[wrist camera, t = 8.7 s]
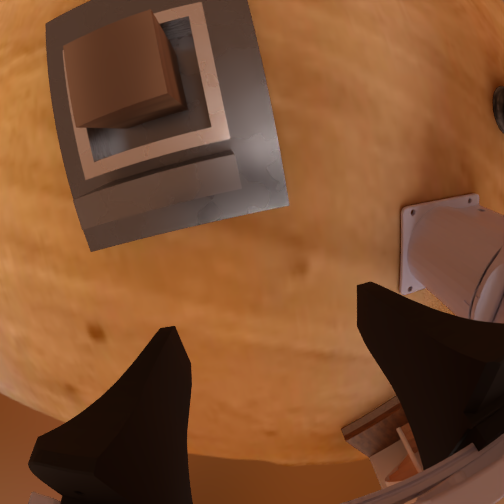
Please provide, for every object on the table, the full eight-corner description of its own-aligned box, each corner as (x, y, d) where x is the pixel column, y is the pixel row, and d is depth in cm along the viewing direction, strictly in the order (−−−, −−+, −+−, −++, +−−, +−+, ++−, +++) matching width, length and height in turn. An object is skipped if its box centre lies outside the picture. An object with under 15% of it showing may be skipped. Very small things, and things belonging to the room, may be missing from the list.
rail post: (175, 52, 14) (150, 9, 8) (188, 109, 16) (167, 93, 9) (115, 72, 14) (63, 46, 8) (126, 128, 16) (75, 127, 9)
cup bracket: (235, -31, 13) (241, -79, 7) (285, 201, 20) (311, 229, 14) (53, 27, 13) (8, 5, 7) (96, 245, 20) (59, 285, 14)
